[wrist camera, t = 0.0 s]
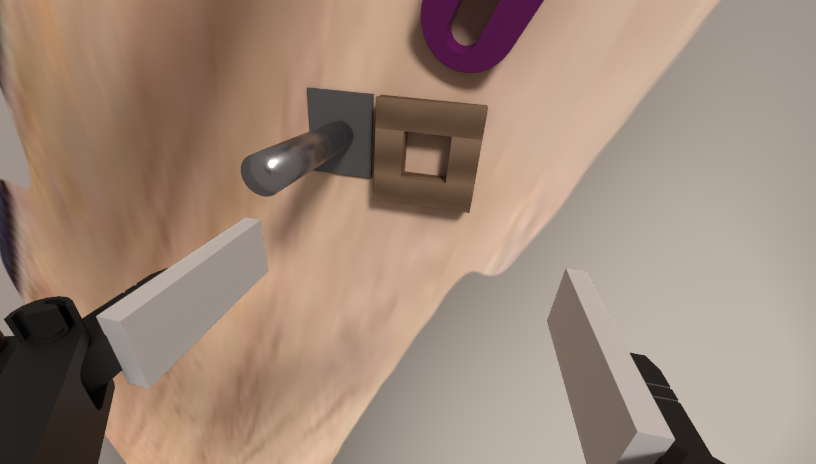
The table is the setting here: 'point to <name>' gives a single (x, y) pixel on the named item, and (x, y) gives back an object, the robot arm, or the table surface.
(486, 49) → the mounting bracket
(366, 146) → the mat
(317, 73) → the table surface
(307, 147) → the peg
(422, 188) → the collar
